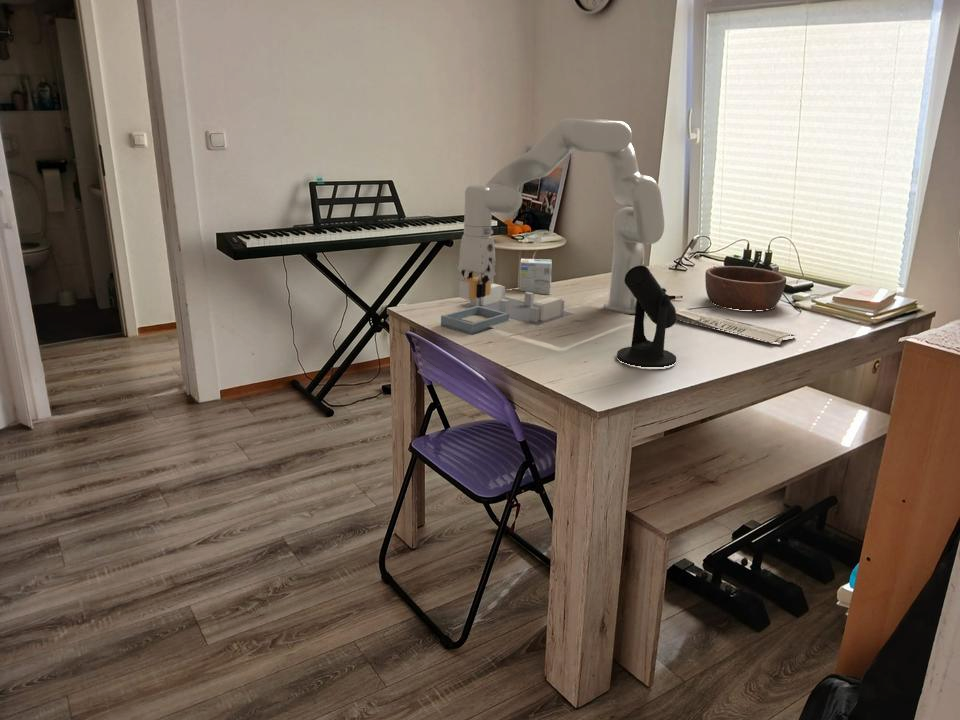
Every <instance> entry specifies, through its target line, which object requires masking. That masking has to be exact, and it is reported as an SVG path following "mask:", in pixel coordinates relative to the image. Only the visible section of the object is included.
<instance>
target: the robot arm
mask: <svg viewBox="0 0 960 720" xmlns="http://www.w3.org/2000/svg"><path fill="white" fill-rule="evenodd" d="M632 140H633V134H632V130H631V128H630V126H629V125H628V124H627V123H626V122H624V121H622V120H611V119H604V118H603V119H602V118H599V119H598V118H596V119H583V118H573V117H570V118H569V117H568V118H563V119H561V120H559V121H558V122H557V123H556V124H555V125H554V126H552V128H550V130H548V132H547V133H545V135H544V136H542V138H541V139H540V140H538V142H536V143H535V144H534V146H532V148H530V150H528V151H527V152H526V153H524V154H522V155H520V156H519V157H517V158H516V159H514V160H512V161H511V162H510V163H508V164H507V165H505V166H503V167H502V168H501V169H500V170H499V171H498V172H496V173H495V174H494V176H493V177H492V178H491V179H490V180H489V181H487V182H486V184H485V185H480V184H477V185H476V184H474V185H468V186H467V187H466V188H465V189H464V190H465V191H464V213H463V214H464V217H463V218H464V220H463V235H462V236H461V240H460V246H459V257H458V258H459V260H458V261H459V263H458V265H457V270H458V271H459V272H460V274H461V275H462V277H463V280H464V279H468V278H473V277H475V273H476V274H477V276H478V283H479V284H477V298H481V297H485V292H486V283H488V281H489V280H490V279H491V280H492V279H493V278H495V277H496V276H497V275H496V274H497V273H496V272H495V270H496V248H495V247H496V245H495V239H494V237H493V236H492V235H493V234H494V230H493V229H492V218H493V217H492V216H493V214H492V213H497V214H504V215H505V214H513V213H515V212H517V211H518V210H519V209H520V208H521V206H522V204H523V196H522V194H521V192H520V191H519V189H518V188H520V186H522V185H524V184H526V183H529V182H530V181H535V180H538V179H541V178H545V177H546V176H548V175H550V174H551V173H553V172H554V170H555V169H556V168H557V167H558V166H559V164H561V163H562V162H563V161H564V160H565V159H566V158H567V157H568V156H569V155H570V154H571V153H572V152H573V151H575V152H581V153H583V152H584V153H600V154H602V156H603V157H604V159H605V161H606V165H607V170H608V175H609V181H610V189H611V194H612V195H611V196H612V197H613V199H614V201H615V202H616V203H618V204H619V205H623V206H627V207H623V208H621V209H619V210H618V211H617V212H616V213H615V214H614V217H613V219H612V226H611V227H612V239H613V251H612V261H611V262H612V263H611V264H612V265H611V272H610V273H611V275H610V287H609V298H608V301H606V302H604V303H603V309H605V310H606V311H610V312H614V313H618V314H625V315H632V314H634V315H635V311H636V301H637V299H636V298H635V297H634V295H633V294H632V292H631V291H630V290H629V288H628V287H627V285H626V284H625V281H624V280H625V276H626V274H627V272H628V271H629V270H630V269H632V268H633V267H636V266H640V265H641V266H644V262H645V246H644V245H654V244H657V242H659V241H660V240H661V239H662V237H663V234H664V233H665V232H664V231H665V216H664V209H663V200H662V194H661V188H660V186H659V184H658V183H657V181H656V180H655V179H654V178H653V177H651V176H648V175H645V174H641V173H640V169H639V166H638V160H637V156H636V152H635V147H633V145H632ZM482 276H483V277H482Z"/></svg>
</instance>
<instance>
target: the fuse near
mask: <svg viewBox="0 0 960 720" xmlns="http://www.w3.org/2000/svg"><path fill="white" fill-rule="evenodd" d="M562 300H563V299H562V298H558V297H554V296H550V297H547V298H543V299H539V300H536V301H533V306H534V307H538V308H540V312H539V320H542V321H544V320H547V319H550V318H553V317H556V316H559V315H560V314H561V306H562Z"/></svg>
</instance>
